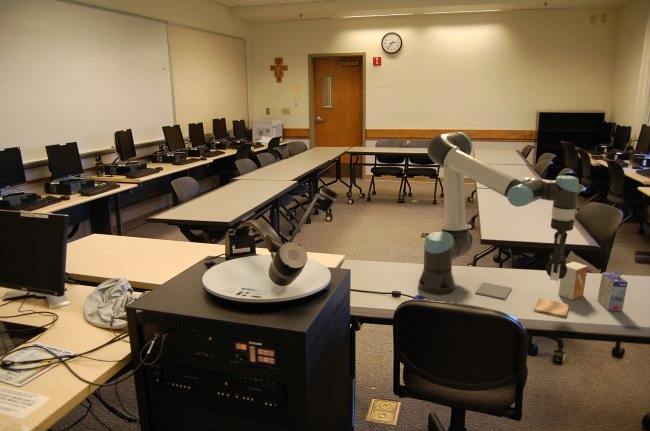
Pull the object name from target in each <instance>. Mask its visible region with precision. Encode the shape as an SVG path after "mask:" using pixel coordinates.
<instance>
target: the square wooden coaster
mask: <svg viewBox="0 0 650 431" xmlns="http://www.w3.org/2000/svg"><path fill="white" fill-rule="evenodd" d="M569 308H570V304H568V303H564V302H559V301H554V300H549V299H544V298H538V300H537V302H536V304H535V306H534V308H533V312H537V313H540V314H541V313H542V314H546V315H551V316H556V317H561V318H564V319H565V318H567V314H568V312H569Z"/></svg>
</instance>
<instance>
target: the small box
mask: <svg viewBox="0 0 650 431" xmlns="http://www.w3.org/2000/svg"><path fill="white" fill-rule="evenodd" d="M566 266H567V273H566V276H565V277H564V278H562V279H559V280H560V282H559V288H558V295H559V296H561V297H563V298H566V299H569V300H572V301H573V300H576V299H577V298H580V297H583V296H584V293H585V292H584V291H585V286H586V281H587V280H586V279H587V273H588V265H586V264H583V263H580V262H577V261H571V262H567V263H566Z"/></svg>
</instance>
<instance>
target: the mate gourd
mask: <svg viewBox="0 0 650 431" xmlns="http://www.w3.org/2000/svg"><path fill="white" fill-rule="evenodd" d="M552 259H553V253H550V254H549V260H548V261H547V262H548V263H547V264H546V266H545V271H546V274H547V275H548V276H549V277H550V278H551V270H552V264H551V263H550V262H552ZM566 261H567V257H566V256H565V257H564V256H561V260H560V272H559V280H560V279H562V278H564V277H565V276H566V273H567V266H566V264H567V263H566Z"/></svg>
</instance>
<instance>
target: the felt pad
mask: <svg viewBox="0 0 650 431" xmlns="http://www.w3.org/2000/svg"><path fill="white" fill-rule="evenodd" d="M511 291H512V287H511V286H510V287H509V286H505V285H499V284H494V283H489V282H481V284H480V285H479V287H478V288H477V289H476V291H475V294H477V295H480V296H481V295H482V296H486V297H490V298H494V299H500V300H504V301H505V300H507V298H508V296H509V294H510V292H511Z"/></svg>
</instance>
